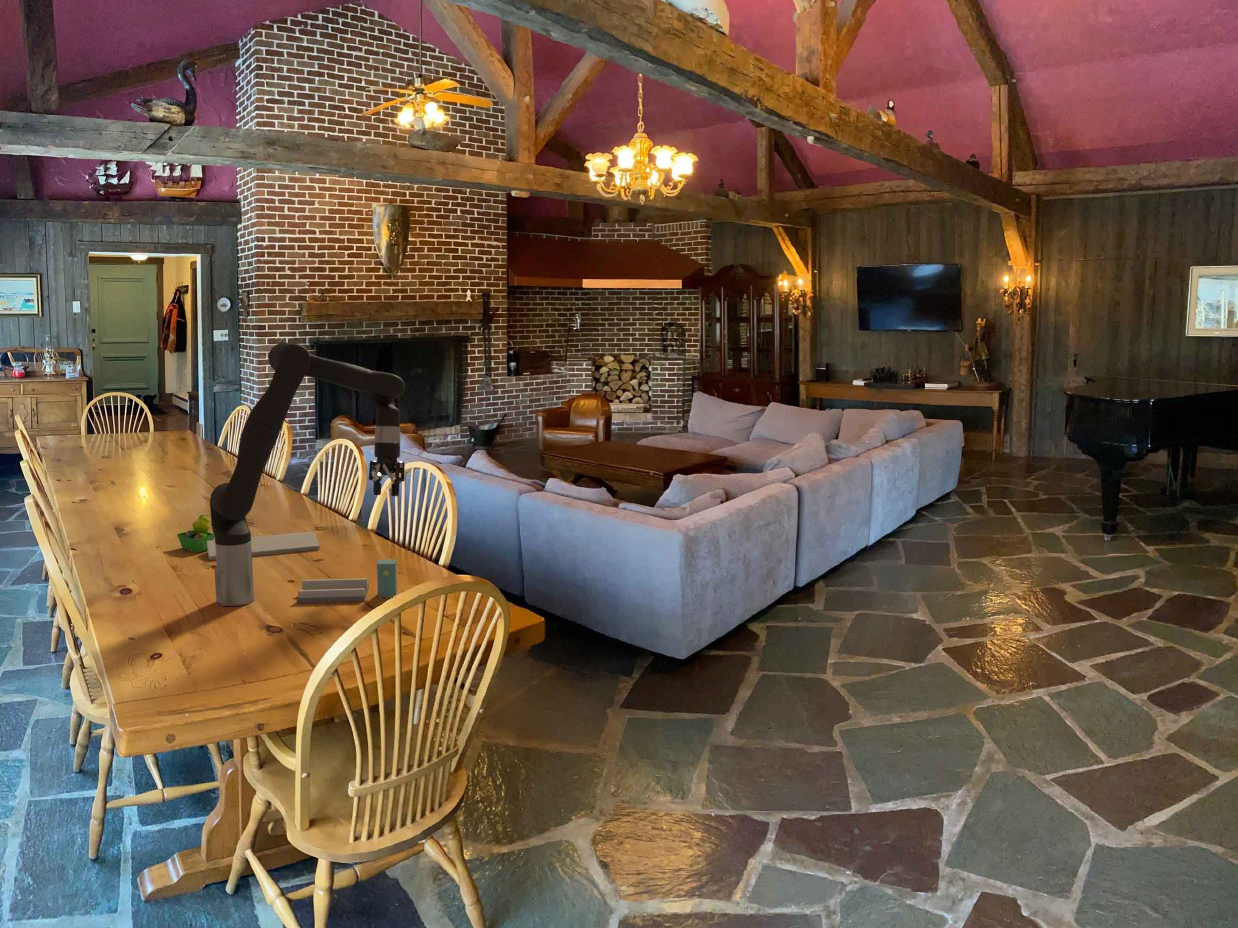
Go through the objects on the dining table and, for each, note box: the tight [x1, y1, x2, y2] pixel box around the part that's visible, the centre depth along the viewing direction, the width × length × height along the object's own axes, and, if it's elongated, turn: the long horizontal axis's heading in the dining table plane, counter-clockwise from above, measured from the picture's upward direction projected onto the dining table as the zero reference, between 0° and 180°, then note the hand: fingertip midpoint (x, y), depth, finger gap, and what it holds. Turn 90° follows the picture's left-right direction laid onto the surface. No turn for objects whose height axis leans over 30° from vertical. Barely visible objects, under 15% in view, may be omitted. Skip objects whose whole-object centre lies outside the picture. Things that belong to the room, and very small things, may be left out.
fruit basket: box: [176, 513, 215, 553], centre depth 314 cm, size 11×9×11 cm
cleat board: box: [297, 577, 370, 604], centre depth 269 cm, size 18×13×4 cm
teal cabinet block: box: [376, 558, 398, 599], centre depth 269 cm, size 5×6×10 cm
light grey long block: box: [207, 530, 321, 561], centre depth 313 cm, size 34×5×10 cm
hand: (386, 495), depth 283 cm, fingers open, 8 cm apart
